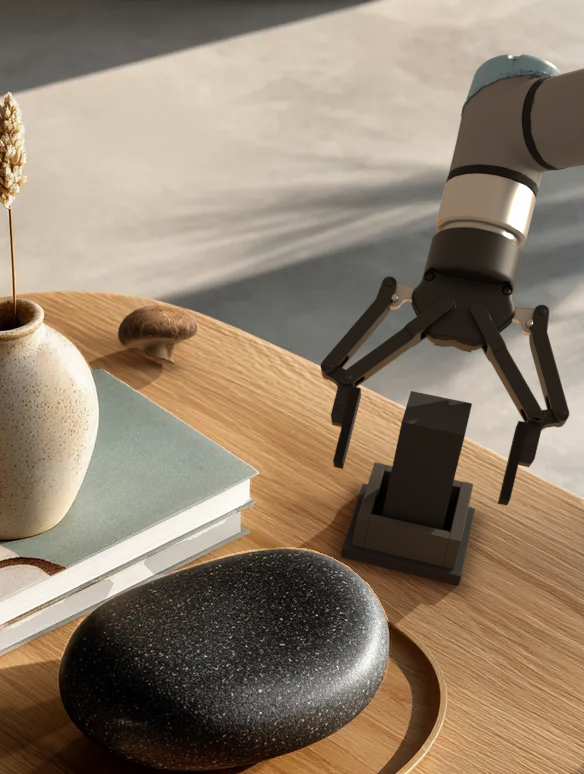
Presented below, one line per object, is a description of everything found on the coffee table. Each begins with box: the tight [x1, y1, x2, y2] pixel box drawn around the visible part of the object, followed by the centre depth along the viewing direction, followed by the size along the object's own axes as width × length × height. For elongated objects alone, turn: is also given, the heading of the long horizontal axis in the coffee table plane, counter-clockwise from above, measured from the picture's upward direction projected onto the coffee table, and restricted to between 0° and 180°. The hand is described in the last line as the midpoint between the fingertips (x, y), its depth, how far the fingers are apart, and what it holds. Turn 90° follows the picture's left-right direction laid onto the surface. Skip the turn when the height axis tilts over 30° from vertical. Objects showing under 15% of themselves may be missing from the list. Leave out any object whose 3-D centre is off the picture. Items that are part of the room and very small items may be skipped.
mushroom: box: [117, 304, 198, 365], centre depth 137 cm, size 8×8×6 cm
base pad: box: [340, 462, 476, 586], centre depth 115 cm, size 10×10×4 cm
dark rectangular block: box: [382, 390, 473, 530], centre depth 112 cm, size 5×5×12 cm
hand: (419, 483), depth 110 cm, fingers open, 13 cm apart
